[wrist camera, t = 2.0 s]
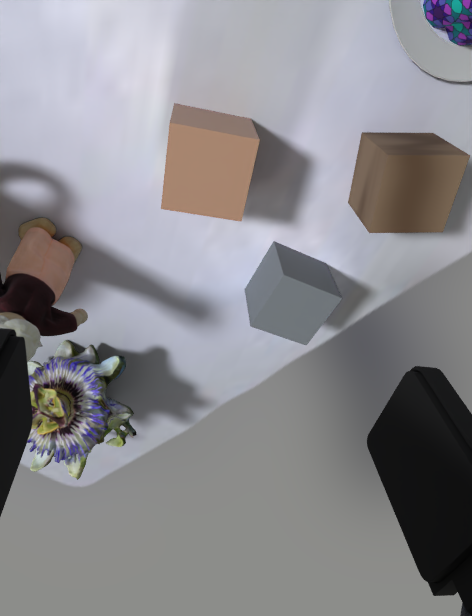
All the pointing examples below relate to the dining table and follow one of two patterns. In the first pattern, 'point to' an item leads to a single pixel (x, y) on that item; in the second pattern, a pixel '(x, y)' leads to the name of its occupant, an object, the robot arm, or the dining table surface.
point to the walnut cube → (405, 182)
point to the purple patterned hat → (436, 36)
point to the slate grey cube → (291, 294)
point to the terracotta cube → (208, 162)
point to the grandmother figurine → (39, 285)
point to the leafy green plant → (74, 407)
